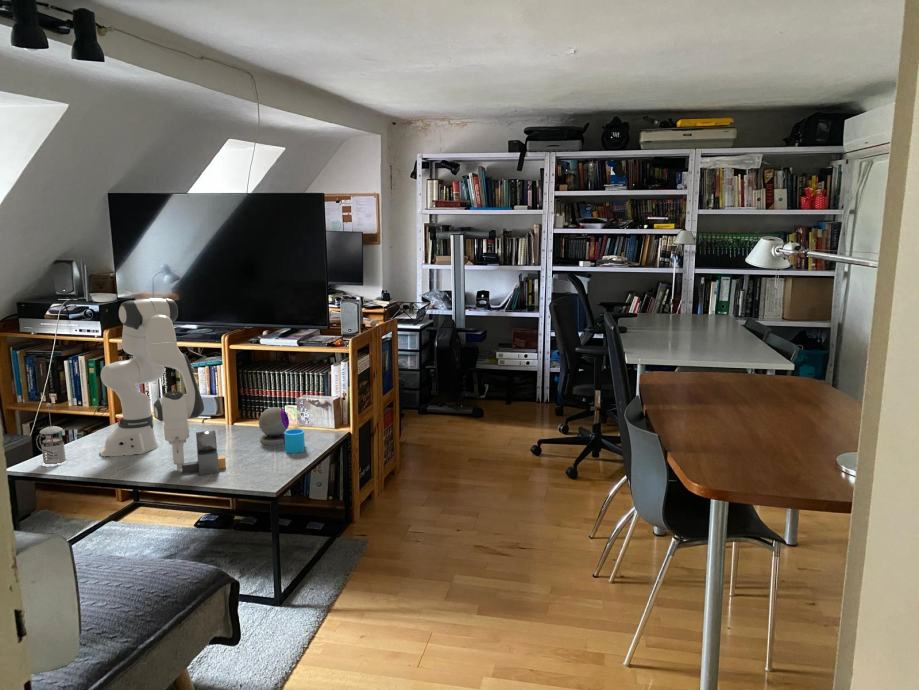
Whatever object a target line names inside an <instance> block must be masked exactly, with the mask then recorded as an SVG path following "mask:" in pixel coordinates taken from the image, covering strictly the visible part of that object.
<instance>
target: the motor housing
mask: <svg viewBox="0 0 919 690" xmlns="http://www.w3.org/2000/svg"><path fill="white" fill-rule="evenodd" d="M216 434H217V433H216V430H215V429H213V430H206V431H205V430H204V431H197V432H195V438H196V439H195V440H196V454H197V457H196V458H197V461H198V462H199V471H198V473H199V476H206V475H213V474H218V473H220V469H219V466H218V456H219V455H218V454H219V453H218V446H217V435H216Z"/></svg>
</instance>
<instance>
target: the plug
mask: <svg viewBox="0 0 919 690" xmlns="http://www.w3.org/2000/svg"><path fill="white" fill-rule="evenodd" d="M218 466H219V470H220V469H221V470H222V469H226V468H227V464H226V455H225V454H222V455H218ZM181 470H182V474H184V473H185V474H186V473H193V472H199V462H198V460H197V461H188V462H184V463H183V464H182V469H181Z"/></svg>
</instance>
